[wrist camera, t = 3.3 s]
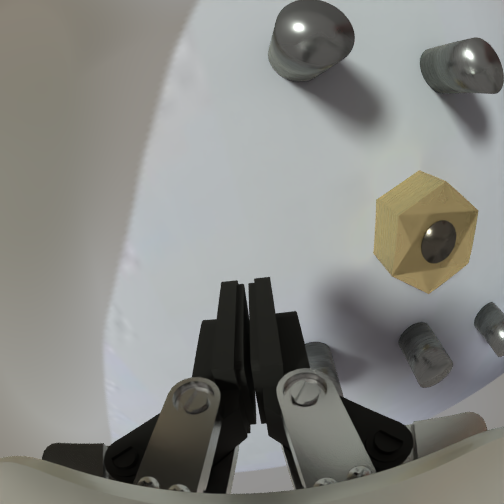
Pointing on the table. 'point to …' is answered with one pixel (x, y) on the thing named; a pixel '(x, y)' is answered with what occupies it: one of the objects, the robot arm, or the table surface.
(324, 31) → the posts
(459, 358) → the table surface
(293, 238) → the table surface
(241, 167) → the table surface
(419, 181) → the brass nut
